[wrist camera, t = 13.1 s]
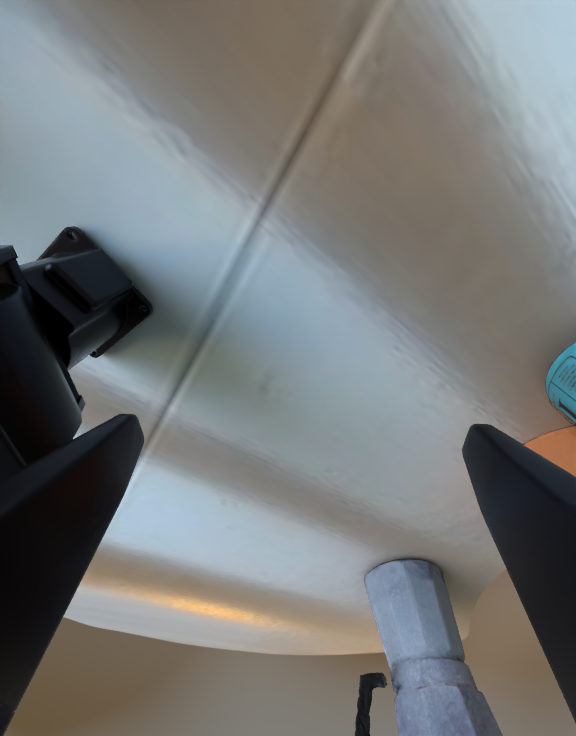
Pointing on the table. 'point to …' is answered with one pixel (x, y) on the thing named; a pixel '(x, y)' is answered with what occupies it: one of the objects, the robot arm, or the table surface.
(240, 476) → the table surface
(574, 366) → the beverage bottle
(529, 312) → the table surface
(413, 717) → the moka pot
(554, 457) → the pot
